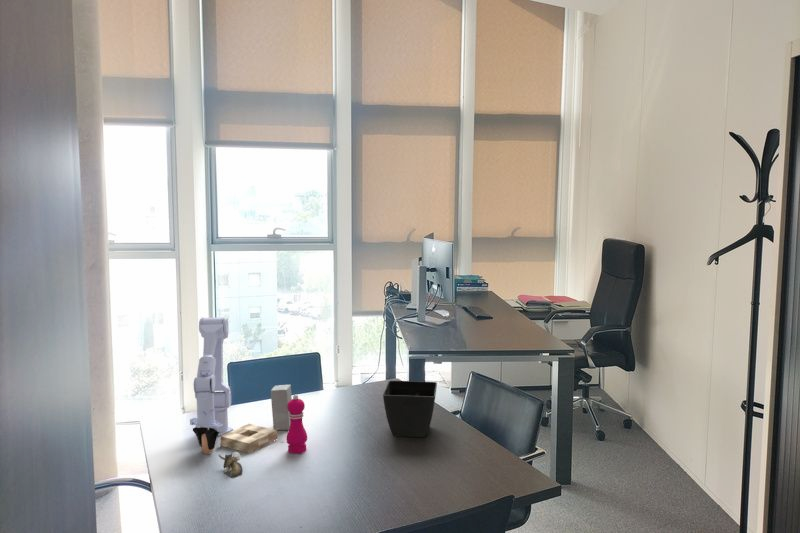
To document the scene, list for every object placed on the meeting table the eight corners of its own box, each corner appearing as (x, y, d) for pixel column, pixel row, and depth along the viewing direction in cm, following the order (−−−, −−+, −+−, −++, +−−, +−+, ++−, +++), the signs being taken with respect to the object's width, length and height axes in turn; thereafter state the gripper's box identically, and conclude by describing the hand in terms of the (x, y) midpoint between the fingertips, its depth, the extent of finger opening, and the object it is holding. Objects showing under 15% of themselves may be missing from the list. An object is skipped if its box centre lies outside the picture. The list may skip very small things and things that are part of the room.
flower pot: (437, 422, 235) (437, 380, 233) (435, 441, 216) (435, 396, 214) (389, 421, 237) (388, 380, 235) (383, 440, 218) (382, 395, 216)
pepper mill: (303, 455, 205) (301, 398, 203) (283, 453, 207) (281, 397, 205) (310, 447, 212) (309, 392, 210) (291, 445, 214) (289, 391, 212)
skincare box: (289, 430, 228) (288, 390, 227) (271, 430, 229) (269, 390, 227) (294, 422, 237) (292, 383, 235) (276, 422, 237) (274, 383, 235)
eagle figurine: (212, 467, 194) (218, 472, 187) (223, 446, 197) (229, 450, 189) (233, 475, 197) (240, 481, 189) (243, 454, 199) (250, 459, 192)
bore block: (220, 445, 215) (220, 436, 214) (249, 432, 227) (248, 423, 226) (249, 453, 208) (248, 443, 207) (277, 439, 220) (276, 430, 219)
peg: (200, 452, 209) (199, 435, 208) (208, 448, 212) (207, 432, 212) (207, 454, 207) (206, 437, 207) (215, 450, 210) (214, 434, 210)
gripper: (182, 409, 208) (184, 447, 210) (211, 416, 201) (213, 455, 202) (198, 403, 215) (200, 440, 216) (227, 410, 207) (228, 448, 208)
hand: (207, 447), depth 210 cm, fingers closed on peg, 4 cm apart
